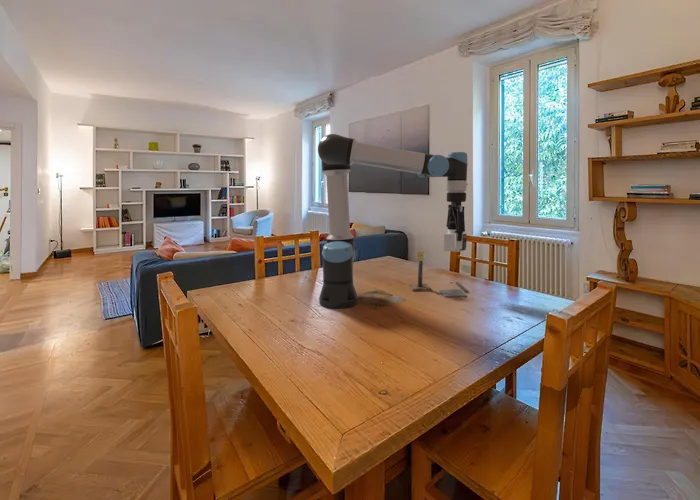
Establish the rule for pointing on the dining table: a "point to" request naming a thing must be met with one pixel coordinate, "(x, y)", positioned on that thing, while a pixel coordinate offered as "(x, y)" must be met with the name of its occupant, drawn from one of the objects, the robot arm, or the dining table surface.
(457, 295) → the coaster
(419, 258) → the key
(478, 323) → the dining table surface
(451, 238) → the medicine bottle
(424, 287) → the holder
